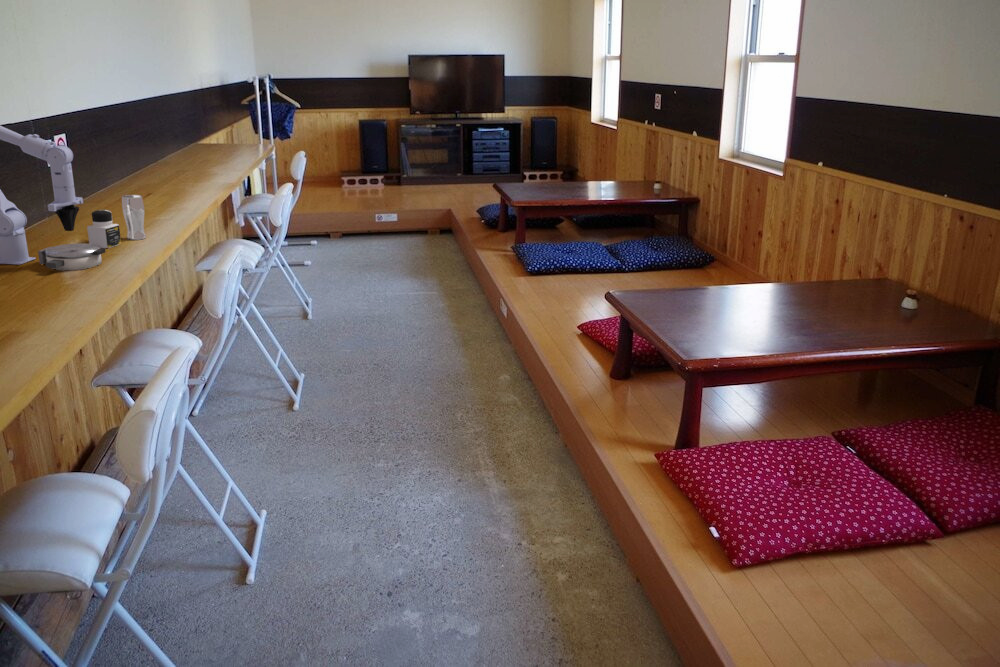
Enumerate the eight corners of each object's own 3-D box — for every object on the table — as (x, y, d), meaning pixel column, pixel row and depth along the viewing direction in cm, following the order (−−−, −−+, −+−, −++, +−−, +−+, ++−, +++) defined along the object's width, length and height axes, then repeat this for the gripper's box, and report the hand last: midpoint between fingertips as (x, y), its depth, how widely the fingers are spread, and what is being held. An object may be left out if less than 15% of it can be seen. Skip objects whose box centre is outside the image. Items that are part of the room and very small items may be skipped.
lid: (33, 257, 237) (32, 253, 237) (63, 246, 252) (62, 242, 251) (88, 259, 236) (87, 255, 236) (115, 248, 250) (114, 244, 250)
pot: (22, 271, 235) (19, 257, 233) (68, 253, 257) (66, 241, 255) (76, 275, 234) (74, 261, 232) (118, 257, 255) (116, 244, 254)
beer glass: (121, 238, 279) (116, 196, 274) (136, 235, 285) (132, 193, 280) (136, 241, 277) (131, 198, 272) (151, 237, 283) (147, 195, 278)
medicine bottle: (108, 248, 265) (103, 213, 261) (89, 247, 266) (84, 211, 262) (121, 244, 272) (117, 209, 268) (103, 242, 273) (99, 208, 269)
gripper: (61, 190, 233) (67, 236, 237) (90, 183, 246) (95, 226, 251) (38, 189, 233) (45, 234, 237) (68, 182, 247) (73, 225, 251)
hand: (69, 230), depth 244 cm, fingers closed
